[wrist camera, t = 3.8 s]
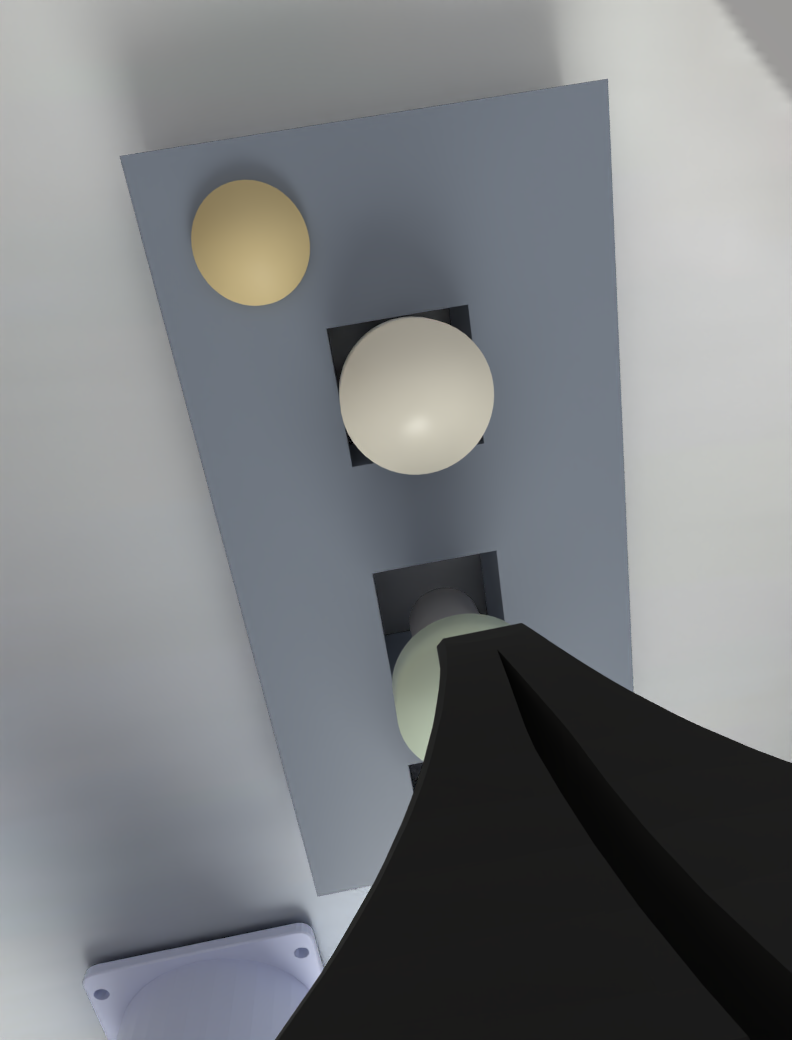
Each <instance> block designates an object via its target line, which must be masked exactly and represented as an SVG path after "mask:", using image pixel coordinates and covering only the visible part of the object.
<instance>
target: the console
mask: <svg viewBox="0 0 792 1040" xmlns="http://www.w3.org/2000/svg"><path fill="white" fill-rule="evenodd" d="M120 159H121V163H122V167H123V170H124V174H125V178H126V182H127V185H128V189H129V193H130V197H131V200H132V204H133V208H134V212H135V215H136V219H137V223H138V226H139V230H140V234H141V238H142V241H143V245H144V249H145V253H146V256H147V260H148V264H149V268H150V271H151V275H152V279H153V283H154V286H155V290H156V294H157V298H158V301H159V305H160V309H161V312H162V316H163V320H164V324H165V327H166V331H167V335H168V339H169V342H170V346H171V350H172V354H173V357H174V361H175V365H176V369H177V372H178V376H179V380H180V384H181V387H182V391H183V395H184V398H185V402H186V406H187V410H188V413H189V417H190V421H191V425H192V428H193V432H194V436H195V440H196V443H197V447H198V451H199V455H200V458H201V462H202V466H203V470H204V473H205V477H206V481H207V484H208V488H209V492H210V496H211V499H212V503H213V507H214V511H215V514H216V518H217V522H218V526H219V529H220V533H221V537H222V541H223V544H224V548H225V552H226V556H227V559H228V563H229V567H230V570H231V574H232V578H233V582H234V585H235V589H236V593H237V597H238V600H239V604H240V608H241V612H242V615H243V619H244V623H245V627H246V630H247V634H248V638H249V641H250V645H251V649H252V653H253V656H254V660H255V664H256V668H257V671H258V675H259V679H260V683H261V686H262V690H263V694H264V698H265V701H266V705H267V709H268V713H269V716H270V720H271V724H272V727H273V731H274V735H275V739H276V742H277V746H278V750H279V754H280V757H281V761H282V765H283V769H284V772H285V776H286V780H287V784H288V787H289V791H290V795H291V799H292V802H293V806H294V810H295V813H296V817H297V821H298V825H299V828H300V832H301V836H302V840H303V843H304V847H305V851H306V855H307V858H308V862H309V866H310V870H311V873H312V877H313V881H314V885H315V888H316V892H317V896H323V895H328V894H332V893H337V892H342V891H347V890H352V889H357V888H362V887H367V886H371V885H373V883H374V881H375V879H376V877H377V875H378V873H379V871H380V869H381V867H382V865H383V863H384V861H385V859H386V857H387V854H388V852H389V850H390V848H391V846H392V843H393V841H394V839H395V837H396V834H397V832H398V830H399V828H400V825H401V823H402V821H403V818H404V816H405V813H406V811H407V808H408V805H409V803H410V800H411V798H412V795H413V792H414V789H413V784H412V779H411V773H410V768H409V765H412V764H417V763H422V762H423V761H422V760H421V759H420V758H418V757H417V756H416V755H415V754H414V753H413V752H412V751H411V750H410V749H409V747H408V746H407V744H406V743H405V741H404V739H403V737H402V735H401V733H400V729H399V726H398V720H397V714H396V708H395V702H394V696H393V688H392V676H393V671H394V667H395V664H396V661H397V659H398V657H399V655H400V653H401V651H402V650H403V648H404V647H405V645H406V644H407V643H408V642H409V641H410V639H411V638H412V634H411V631H406V632H401V633H395V634H390V635H385V634H384V629H383V623H382V618H381V613H380V607H379V602H378V597H377V591H376V586H375V581H374V575H373V573H378V572H384V571H389V570H394V569H400V568H405V567H410V566H416V565H421V564H426V563H432V562H437V561H442V560H448V559H453V558H459V557H464V556H469V555H475V554H480V558H481V566H482V574H483V582H484V590H485V598H486V606H487V614H488V615H489V616H493V617H496V618H498V619H501V620H503V621H505V622H507V623H509V624H510V625H513V624H519V623H523V624H525V625H526V626H528V627H529V628H531V629H532V630H534V631H535V632H537V633H538V634H540V635H541V636H543V637H544V638H546V639H547V640H549V641H550V642H552V643H553V644H555V645H556V646H558V647H559V648H561V649H563V650H564V651H566V652H567V653H569V654H570V655H572V656H573V657H575V658H576V659H578V660H580V661H581V662H583V663H584V664H586V665H588V666H589V667H591V668H592V669H594V670H596V671H597V672H599V673H601V674H602V675H604V676H606V677H607V678H609V679H611V680H612V681H614V682H616V683H618V684H619V685H621V686H623V687H625V688H626V689H628V690H630V691H632V692H633V671H632V647H631V623H630V599H629V575H628V551H627V527H626V503H625V480H624V456H623V432H622V408H621V384H620V360H619V336H618V312H617V288H616V264H615V240H614V216H613V192H612V168H611V144H610V120H609V96H608V79H604V80H597V81H591V82H585V83H578V84H572V85H566V86H559V87H553V88H547V89H540V90H534V91H528V92H522V93H515V94H509V95H503V96H496V97H490V98H484V99H477V100H471V101H465V102H458V103H452V104H446V105H439V106H433V107H427V108H420V109H414V110H408V111H401V112H395V113H389V114H383V115H376V116H370V117H364V118H357V119H351V120H345V121H338V122H332V123H326V124H319V125H313V126H307V127H300V128H294V129H288V130H281V131H275V132H269V133H262V134H256V135H250V136H244V137H237V138H231V139H225V140H218V141H212V142H206V143H199V144H193V145H187V146H180V147H174V148H168V149H161V150H155V151H149V152H142V153H136V154H130V155H123V156H120ZM445 308H449V309H450V317H451V325H452V326H453V327H455V328H457V329H458V330H460V331H461V332H463V333H464V334H466V335H467V336H468V337H469V338H470V339H471V340H472V341H473V342H474V343H475V344H476V345H477V347H478V348H479V349H480V351H481V352H482V354H483V355H484V357H485V359H486V361H487V363H488V365H489V368H490V371H491V375H492V379H493V385H494V404H493V410H492V415H491V418H490V421H489V424H488V426H487V428H486V430H485V432H484V434H483V436H482V438H481V439H480V441H479V442H478V443H477V445H476V446H475V447H474V448H473V449H472V450H471V451H470V452H469V453H468V454H467V455H466V456H465V457H464V458H462V459H461V460H460V461H458V462H457V463H455V464H453V465H451V466H449V467H448V468H445V469H442V470H440V471H437V472H433V473H429V474H420V475H409V474H402V473H397V472H394V471H390V470H388V469H385V468H383V467H381V466H379V465H377V464H376V463H374V462H372V461H371V460H370V459H369V458H367V457H366V456H365V455H364V454H363V453H362V452H361V451H360V450H359V449H358V448H357V446H356V445H355V444H349V441H348V436H347V431H346V427H345V425H344V422H343V418H342V414H341V408H340V399H339V388H338V383H337V377H336V372H335V367H334V361H333V356H332V350H331V345H330V340H329V334H328V329H327V328H333V327H339V326H345V325H351V324H357V323H363V322H368V321H374V320H380V319H386V318H392V317H398V316H404V315H409V314H415V313H421V312H427V311H433V310H439V309H445Z"/></svg>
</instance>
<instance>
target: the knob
mask: <svg viewBox="0 0 792 1040" xmlns="http://www.w3.org/2000/svg"><path fill="white" fill-rule="evenodd" d="M339 399H340V408H341V414H342V418H343V422H344V425H345V427H346V430H347V432H348V434H349V436H350V438H351V439H352V441H353V442H354V444H355V445H356V446H357V448H358V449H359V450H360V451H361V452H362V453H363V454H364V455H365V456H366V457H367V458H369V459H370V460H371V461H372V462H374V463H376V464H377V465H379V466H381V467H383V468H385V469H388V470H390V471H394V472H397V473H402V474H409V475H420V474H429V473H433V472H437V471H440V470H442V469H445V468H448V467H449V466H451V465H453V464H455V463H457V462H458V461H460V460H461V459H462V458H464V457H465V456H466V455H467V454H468V453H469V452H470V451H471V450H472V449H473V448H474V447H475V446H476V445H477V443H478V442H479V441H480V439H481V438H482V436H483V434H484V432H485V430H486V428H487V426H488V424H489V421H490V418H491V415H492V410H493V404H494V385H493V379H492V375H491V371H490V368H489V365H488V363H487V361H486V359H485V357H484V355H483V354H482V352H481V351H480V349H479V348H478V347H477V345H476V344H475V343H474V342H473V341H472V340H471V339H470V338H469V337H468V336H467V335H466V334H464V333H463V332H461V331H460V330H458V329H457V328H455V327H453V326H451V325H449V324H447V323H443V322H440V321H437V320H433V319H429V318H424V317H411V316H409V317H400V318H396V319H392V320H389V321H386V322H384V323H381V324H379V325H378V326H376V327H374V328H372V329H371V330H370V331H368V332H367V333H366V334H365V335H364V336H363V337H362V338H361V339H360V340H358V342H357V343H356V344H355V345H354V347H353V348H352V349H351V351H350V353H349V355H348V356H347V358H346V361H345V363H344V365H343V368H342V372H341V376H340V383H339Z"/></svg>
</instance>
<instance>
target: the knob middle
mask: <svg viewBox="0 0 792 1040" xmlns="http://www.w3.org/2000/svg"><path fill="white" fill-rule="evenodd" d="M508 625H510V624H509V623H507V622H505V621H503V620H501V619H498V618H496V617H493V616H489V615H484V614H479V612H478V610H477V608H476V606H475V604H474V602H473V600H472V599H471V598H470V597H469V596H468V595H467V594H465V593H464V592H462V591H460V590H457V589H453V588H439V589H435V590H432V591H430V592H428V593H426V594H424V595H423V596H422V597H420V598H419V599H418V600H417V602H416V603H415V604H414V606H413V608H412V610H411V613H410V617H409V626H410V630H411V634H412V638H411V639H410V641H409V642H408V643H407V644H406V645H405V647H404V648H403V650H402V651H401V653H400V655H399V657H398V659H397V661H396V664H395V667H394V671H393V676H392V688H393V696H394V702H395V708H396V714H397V720H398V726H399V729H400V733H401V735H402V737H403V739H404V741H405V743H406V744H407V746H408V747H409V749H410V750H411V751H412V752H413V753H414V754H415V755H416V756H417V757H418V758H420V759H421V760H422V761H424V757H425V753H426V750H427V746H428V742H429V738H430V734H431V730H432V726H433V722H434V716H435V710H436V704H437V697H438V691H439V680H440V665H439V659H438V652H437V645H438V644H439V643H440V642H441V640H442V639H443V638H448V637H453V636H458V635H463V634H468V633H473V632H478V631H483V630H488V629H493V628H498V627H503V626H508Z"/></svg>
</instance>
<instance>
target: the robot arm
mask: <svg viewBox="0 0 792 1040" xmlns="http://www.w3.org/2000/svg"><path fill="white" fill-rule="evenodd" d="M437 652H438V659H439V665H440V680H439V691H438V697H437V704H436V710H435V716H434V722H433V726H432V730H431V734H430V738H429V742H428V746H427V750H426V753H425V757H424V761H423V765H422V768H421V771H420V774H419V777H418V780H417V783H416V786H415V789H414V792H413V795H412V798H411V800H410V803H409V805H408V808H407V811H406V813H405V816H404V818H403V821H402V823H401V825H400V828H399V830H398V832H397V834H396V837H395V839H394V841H393V843H392V846H391V848H390V850H389V852H388V854H387V857H386V859H385V861H384V863H383V865H382V867H381V869H380V871H379V873H378V875H377V877H376V879H375V881H374V883H373V885H372V887H371V889H370V891H369V892H368V894H367V896H366V898H365V899H364V901H363V903H362V905H361V906H360V908H359V910H358V912H357V913H356V915H355V917H354V918H353V920H352V922H351V924H350V925H349V927H348V929H347V931H346V932H345V934H344V936H343V938H342V939H341V941H340V943H339V945H338V946H337V948H336V950H335V952H334V953H333V955H332V956H331V958H330V960H329V961H328V963H327V964H326V966H325V967H324V969H323V965H322V961H321V958H320V954H319V951H318V947H317V943H316V940H315V936H314V933H313V930H312V928H311V927H310V926H309V925H307V924H305V923H294V924H289V925H284V926H280V927H275V928H270V929H265V930H260V931H255V932H251V933H246V934H241V935H236V936H231V937H226V938H222V939H217V940H212V941H207V942H202V943H197V944H193V945H188V946H183V947H178V948H173V949H168V950H164V951H159V952H154V953H149V954H144V955H139V956H135V957H130V958H125V959H120V960H115V961H110V962H106V963H101V964H96V965H94V966H91V967H90V968H89V969H87V971H86V974H85V976H84V979H83V987H84V989H85V991H86V994H87V996H88V998H89V1000H90V1002H91V1005H92V1007H93V1009H94V1011H95V1013H96V1015H97V1018H98V1020H99V1022H100V1024H101V1026H102V1028H103V1031H104V1033H105V1035H106V1037H107V1039H108V1040H792V763H790V762H787V761H784V760H781V759H779V758H776V757H774V756H771V755H768V754H766V753H763V752H760V751H758V750H755V749H753V748H750V747H748V746H745V745H743V744H741V743H738V742H736V741H734V740H731V739H729V738H727V737H724V736H722V735H720V734H717V733H715V732H713V731H710V730H708V729H706V728H703V727H701V726H699V725H697V724H695V723H692V722H690V721H688V720H686V719H684V718H682V717H680V716H678V715H676V714H674V713H672V712H670V711H668V710H666V709H664V708H662V707H660V706H658V705H656V704H654V703H652V702H651V701H649V700H647V699H645V698H643V697H641V696H639V695H637V694H635V693H634V692H632V691H630V690H628V689H626V688H625V687H623V686H621V685H619V684H618V683H616V682H614V681H612V680H611V679H609V678H607V677H606V676H604V675H602V674H601V673H599V672H597V671H596V670H594V669H592V668H591V667H589V666H588V665H586V664H584V663H583V662H581V661H580V660H578V659H576V658H575V657H573V656H572V655H570V654H569V653H567V652H566V651H564V650H563V649H561V648H559V647H558V646H556V645H555V644H553V643H552V642H550V641H549V640H547V639H546V638H544V637H543V636H541V635H540V634H538V633H537V632H535V631H534V630H532V629H531V628H529V627H528V626H526V625H525V624H523V623H519V624H513V625H508V626H503V627H498V628H493V629H488V630H483V631H478V632H473V633H468V634H463V635H458V636H453V637H448V638H443V639H442V640H441V642H440V643H439V644H438V645H437ZM300 947H304V948H300Z"/></svg>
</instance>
